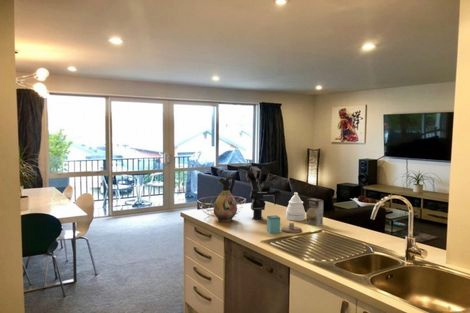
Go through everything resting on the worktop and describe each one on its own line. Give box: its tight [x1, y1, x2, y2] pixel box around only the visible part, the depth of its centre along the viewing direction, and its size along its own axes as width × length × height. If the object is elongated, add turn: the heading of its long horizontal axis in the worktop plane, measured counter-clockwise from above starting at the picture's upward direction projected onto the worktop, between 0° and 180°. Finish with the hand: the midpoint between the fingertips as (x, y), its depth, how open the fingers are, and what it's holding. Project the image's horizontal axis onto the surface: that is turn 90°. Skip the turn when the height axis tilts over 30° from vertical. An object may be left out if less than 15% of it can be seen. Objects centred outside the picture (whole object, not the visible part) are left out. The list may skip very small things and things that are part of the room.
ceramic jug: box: [213, 175, 238, 223], centre depth 229 cm, size 17×15×30 cm
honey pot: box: [285, 192, 306, 222], centre depth 237 cm, size 13×13×18 cm
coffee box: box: [305, 197, 324, 227], centre depth 222 cm, size 9×6×16 cm
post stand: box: [280, 222, 303, 234], centre depth 206 cm, size 12×12×4 cm
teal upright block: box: [266, 215, 281, 234], centre depth 203 cm, size 6×6×9 cm
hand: (267, 204), depth 210 cm, fingers open, 9 cm apart
